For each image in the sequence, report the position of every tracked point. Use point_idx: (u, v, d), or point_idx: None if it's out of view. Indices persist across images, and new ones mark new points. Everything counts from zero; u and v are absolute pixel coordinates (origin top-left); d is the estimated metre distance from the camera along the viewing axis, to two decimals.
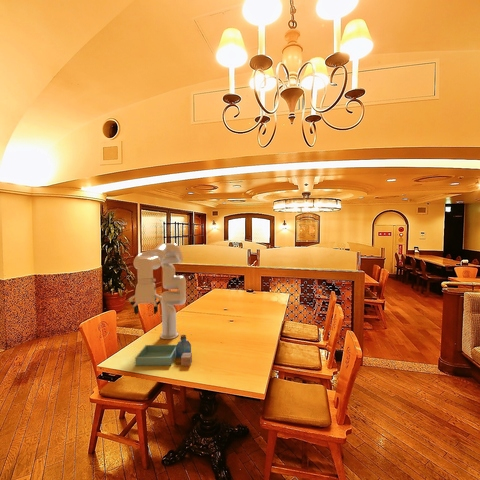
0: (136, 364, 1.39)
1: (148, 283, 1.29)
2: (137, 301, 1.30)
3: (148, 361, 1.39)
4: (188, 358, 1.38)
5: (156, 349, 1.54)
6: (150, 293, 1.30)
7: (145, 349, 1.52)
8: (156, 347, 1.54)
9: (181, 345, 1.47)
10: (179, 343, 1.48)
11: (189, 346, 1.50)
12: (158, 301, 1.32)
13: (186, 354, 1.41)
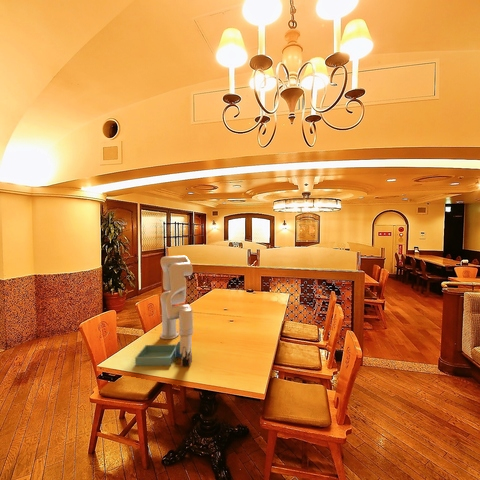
0: (136, 364, 1.39)
1: None
2: (188, 351, 1.37)
3: (148, 361, 1.39)
4: None
5: (156, 349, 1.54)
6: (191, 339, 1.43)
7: (145, 349, 1.52)
8: (156, 347, 1.54)
9: None
10: (179, 343, 1.48)
11: None
12: None
13: (186, 354, 1.41)
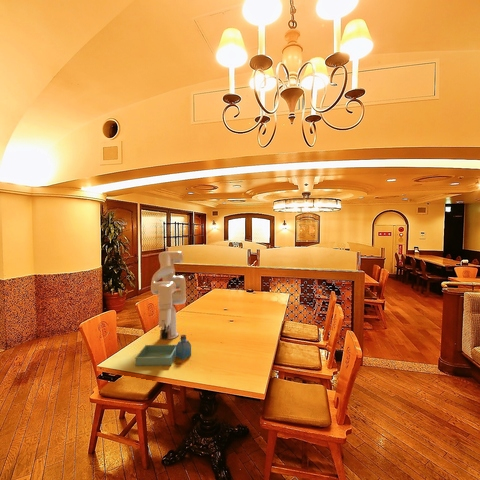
0: (136, 364, 1.39)
1: None
2: (167, 325, 1.42)
3: (148, 361, 1.39)
4: (167, 331, 1.44)
5: (156, 349, 1.54)
6: (170, 314, 1.49)
7: (145, 349, 1.52)
8: (156, 347, 1.54)
9: (181, 345, 1.47)
10: (179, 343, 1.48)
11: (189, 346, 1.50)
12: None
13: (165, 328, 1.47)
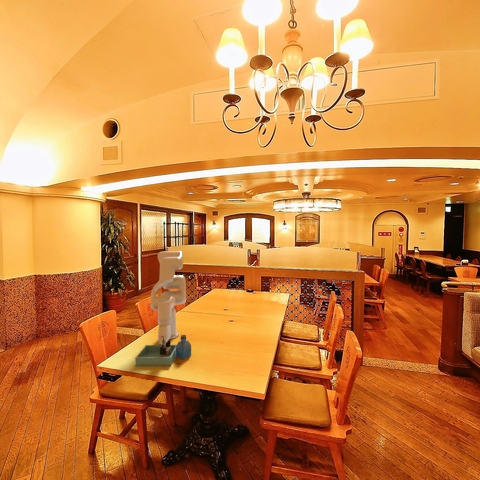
0: (136, 364, 1.39)
1: None
2: (166, 341, 1.43)
3: (148, 361, 1.39)
4: (166, 352, 1.44)
5: (156, 349, 1.54)
6: (170, 329, 1.49)
7: (145, 349, 1.52)
8: (156, 347, 1.54)
9: (181, 345, 1.47)
10: (179, 343, 1.48)
11: (189, 346, 1.50)
12: None
13: None
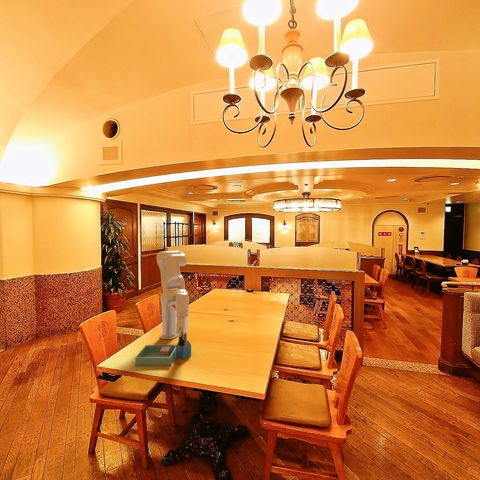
0: (136, 364, 1.39)
1: None
2: (184, 332, 1.46)
3: (148, 361, 1.39)
4: (166, 352, 1.44)
5: (156, 349, 1.54)
6: (187, 321, 1.52)
7: (145, 349, 1.52)
8: (156, 347, 1.54)
9: None
10: None
11: (189, 346, 1.50)
12: None
13: (165, 348, 1.47)
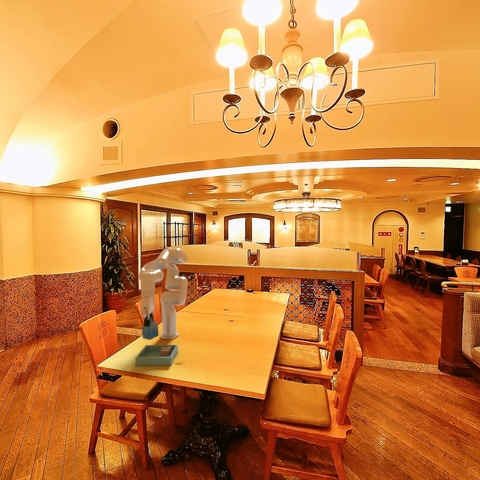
0: (136, 364, 1.39)
1: None
2: (150, 312, 1.42)
3: (148, 361, 1.39)
4: (166, 352, 1.44)
5: (156, 349, 1.54)
6: (154, 302, 1.49)
7: (145, 349, 1.52)
8: (156, 347, 1.54)
9: None
10: None
11: (156, 326, 1.46)
12: (152, 310, 1.51)
13: (165, 348, 1.47)
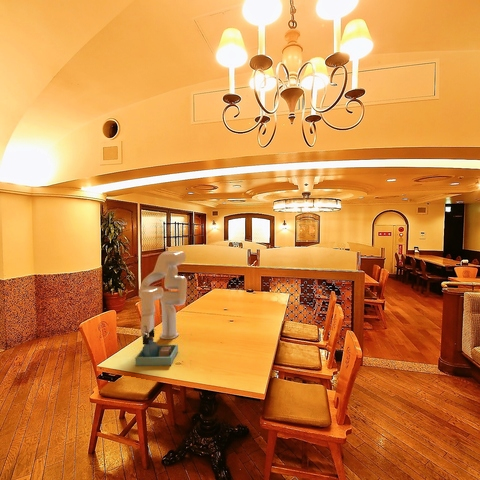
0: (136, 364, 1.39)
1: None
2: (149, 330, 1.42)
3: (148, 361, 1.39)
4: (166, 352, 1.44)
5: None
6: (154, 319, 1.49)
7: None
8: None
9: (147, 346, 1.44)
10: None
11: (157, 347, 1.47)
12: None
13: (165, 348, 1.47)
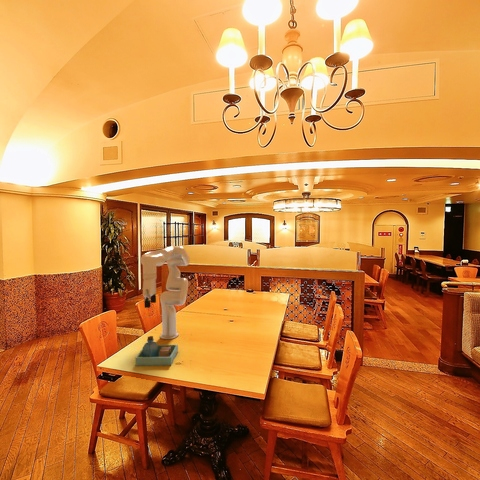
0: (136, 364, 1.39)
1: None
2: (151, 294, 1.46)
3: (148, 361, 1.39)
4: (166, 352, 1.44)
5: None
6: (155, 285, 1.52)
7: None
8: None
9: (147, 346, 1.44)
10: (146, 344, 1.45)
11: (157, 347, 1.47)
12: None
13: (165, 348, 1.47)
